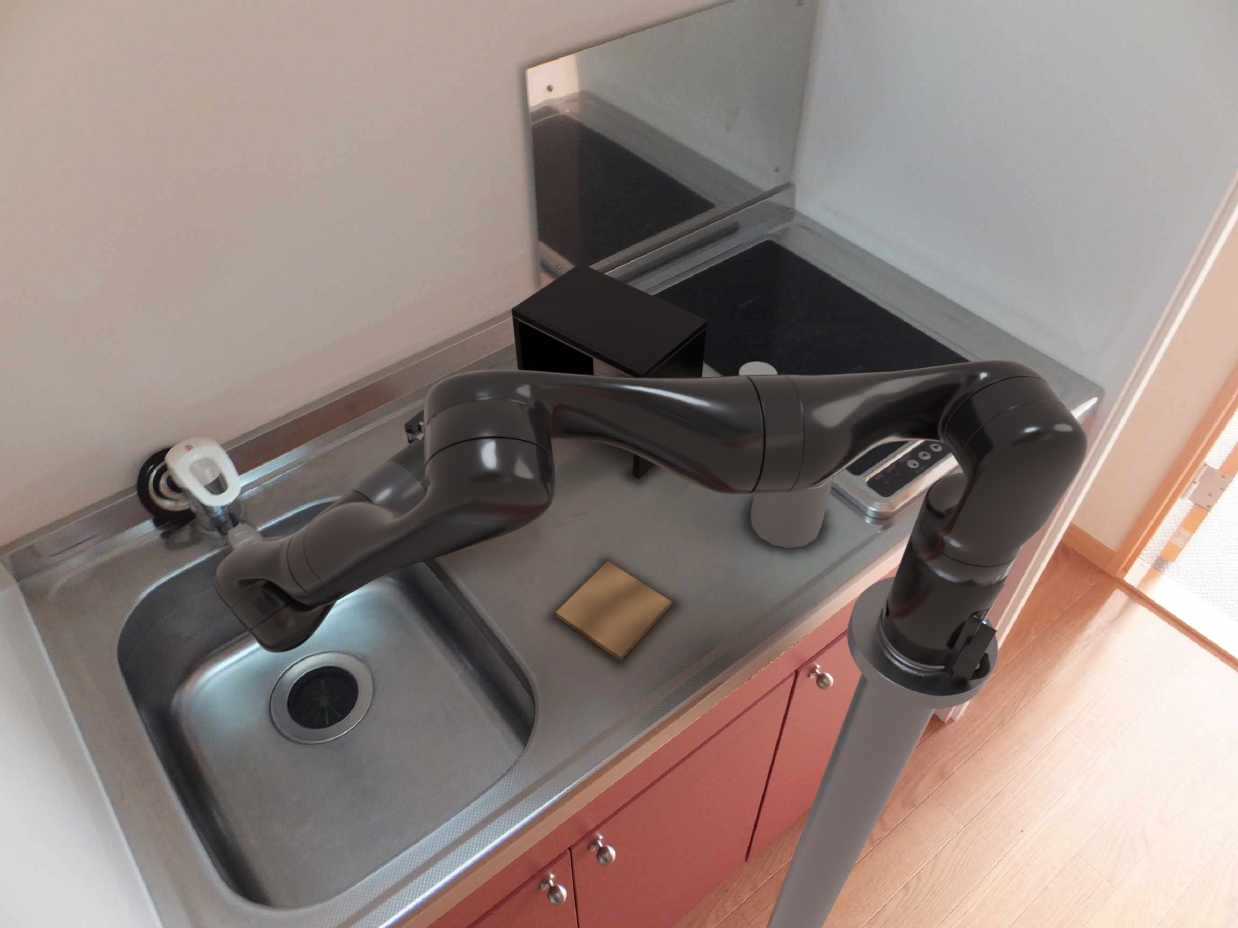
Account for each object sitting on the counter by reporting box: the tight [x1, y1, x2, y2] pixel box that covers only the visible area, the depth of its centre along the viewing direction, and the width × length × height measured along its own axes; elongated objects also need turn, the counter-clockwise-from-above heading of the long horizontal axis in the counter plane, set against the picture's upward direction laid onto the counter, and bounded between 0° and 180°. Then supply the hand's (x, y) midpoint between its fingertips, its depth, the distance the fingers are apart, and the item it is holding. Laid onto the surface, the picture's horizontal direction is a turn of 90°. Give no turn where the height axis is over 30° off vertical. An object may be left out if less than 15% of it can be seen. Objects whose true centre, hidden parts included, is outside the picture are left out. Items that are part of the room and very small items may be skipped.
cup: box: [750, 476, 835, 549], centre depth 101 cm, size 8×8×10 cm
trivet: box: [555, 560, 672, 662], centre depth 96 cm, size 9×9×1 cm
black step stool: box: [511, 262, 708, 479], centre depth 112 cm, size 20×13×17 cm, turn 51°
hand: (514, 410), depth 99 cm, fingers open, 8 cm apart
